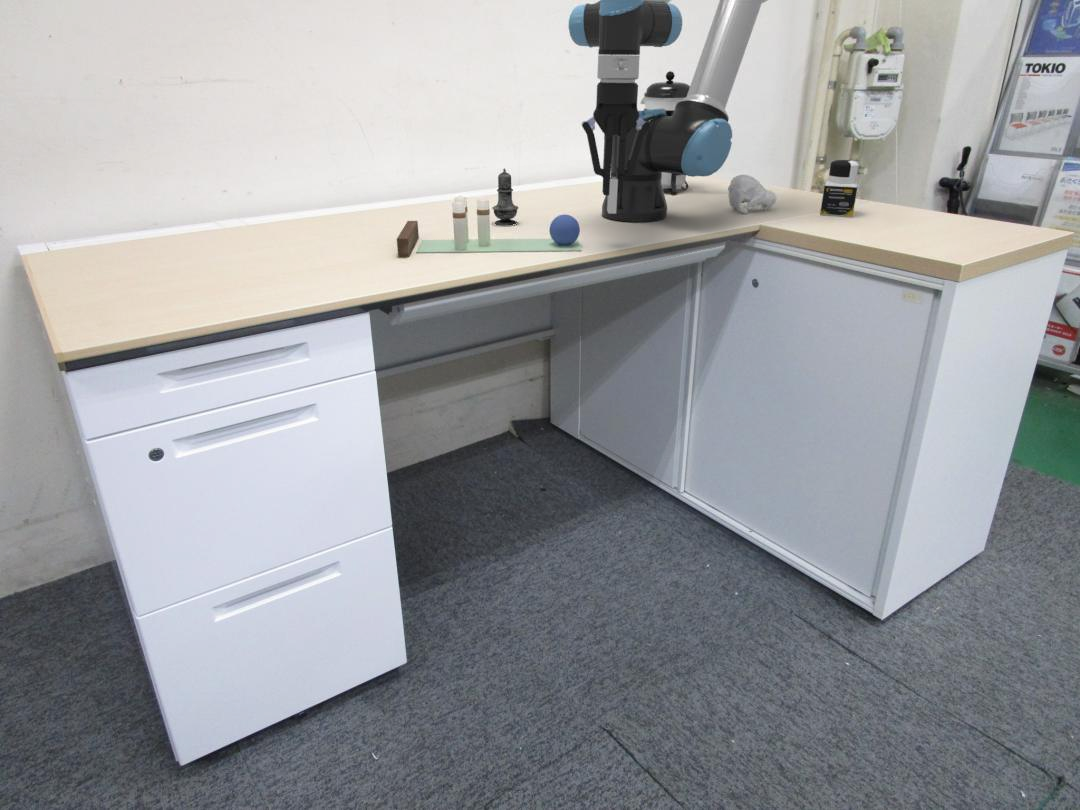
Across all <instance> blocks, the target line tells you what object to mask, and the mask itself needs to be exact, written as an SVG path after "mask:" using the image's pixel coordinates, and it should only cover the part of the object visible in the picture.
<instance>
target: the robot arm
mask: <svg viewBox="0 0 1080 810" xmlns="http://www.w3.org/2000/svg"><path fill="white" fill-rule="evenodd" d="M671 1H672V0H598V1H597V2H594V3H588V2H587V3H585V4H579V5H577V6H576V7H574V8H573V10H572V11H571V13H570V15H569V19H568V30H569V36H570V38H571V40H572V41H573V43H574V44H575V45H577V46H579V47H588V48H591V49H592V48H596V47H597V48H598V53H597V77H596V78H597V79H598V80H600V81H599V82H598V83H597V85H596V103H595V105H596V106H595V109H594V111H593V114H592V116H591V117H590V118H588V119H587V120H584V121H582V122H581V127H582V128H583V131H584V132H585V133H586V136H587V137H586V139H587V142H588V143H587V144H588V146H589V147H588V148H589V152H590V153H589V154H590V157H591V158H590V159H591V163H592V169H593V172H594V174H596V175H597V176H600V177H602V190H601V191H602V194H603V196H604V199H603V203H602V205H601V216H602V217H603V218H605V219H608V220H613V221H618V222H619V221H620V222H633V223H635V222H653V221H659V220H663V219H665V218H667V216H668V203H667V200H666V196H665V192H664V188H663V187H662V183H661V177H662V172H665V173H673V174H681V175H686V177H687V176H688V177H691V178H692V177H709V176H712V175H713V174H714V173H717V171H719V170H720V169H721V168H722V167H723V165H724V164H725V162H726V160H727V159H728V157H729V154H730V151H731V149H732V144H733V143H732V139H733V129H732V126H731V125H730V123H729V121H730V120H729V119H730V117H729V115H728V113H727V111H726V107H727V104H728V101H729V98H730V95H731V94H732V93H731V92H732V90H733V86H734V84H735V80H736V78H737V75H738V73H739V69H740V67H741V64H742V61H743V58H744V55H745V53H746V49H747V47H748V44H749V41H750V38H751V35H752V32H753V29H754V27H755V23H756V21H757V18H758V15H759V12H760V9H761V6H762V4H763V3H765V2H768V0H719V2H718V4H717V8H716V11H715V14H714V16H713V19H712V21H711V25H710V28H709V31H708V33H707V36H706V39H705V42H704V45H703V48H702V51H701V54H700V56H699V60H698V62H697V66H696V67H695V71H694V75H693V77H692V81H691V83H690V85H689V86H690V88H689V91H688V94H687V97H686V98H684V99H682V100H680V101H678V102H677V104H676V107H675V110H674V113H673V115H672V116H666V111H665V109H652V110H644V109H643V110H639V109H638V95H639V93H638V92H639V85H638V83H637V82H636V80H638V79H639V75H640V58H641V57H640V55H641V47H654V48H663V47H668V46H671V45H672V44H673V43H675V42H676V41H677V40H678V38H679V37H680V35H681V32H682V28H683V17H682V12H681V11H680V9H679V8H678V7H677V6H676V5H675V4H673V3H671ZM595 123H596V124H597V125H598V127H599V129H600V131H601V132H602V133H603V139H604V140H603V161H602V167H601V163H600V158H599V152H598V146H597V142H596V137H595V133H594V130H596V126H595V125H596V124H595Z"/></svg>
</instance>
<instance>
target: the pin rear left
mask: <svg viewBox="0 0 1080 810" xmlns="http://www.w3.org/2000/svg"><path fill="white" fill-rule="evenodd" d="M451 205H452V206H451V207H452V220H453V221H452V223H453V238H454V239H453V240H454V243H455V249H456V250H466V249H467V237H466V212H465V202H455V201H453V202H452V204H451Z"/></svg>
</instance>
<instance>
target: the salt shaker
mask: <svg viewBox="0 0 1080 810" xmlns="http://www.w3.org/2000/svg"><path fill="white" fill-rule="evenodd" d="M502 171H503V172H501V173H499V174H498V176H497V180H498V183H497V185H498V186H497V187H498V189H496V191H497V193H498V194H497V195H498V199H497V204H496V205H494V206H492V208H491V209H492V211H493V214H494V216H495V217H496V218H497V219H498V220H496V221H495V224H496V225H495V226H497V225H513V224H516V223H517V224H518V221H516V220H514V218H515V217H516V216H517V214H518V210H519V206H518V205H516V204H514V201H513V191H514V189H513V188H512V175H511V174H510V173H508V172H507V170H506V168H503V169H502ZM517 224H516V225H517ZM513 226H514V225H513Z"/></svg>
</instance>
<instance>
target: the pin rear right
mask: <svg viewBox="0 0 1080 810" xmlns="http://www.w3.org/2000/svg"><path fill="white" fill-rule="evenodd" d="M467 199H468V198H467V197H466V196H456V197H455V196H454V202H465V212H466V237H467V243H468V242H469V239H470V238H469V227H468V226H469V225H468V224H469V222H468V201H467Z"/></svg>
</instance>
